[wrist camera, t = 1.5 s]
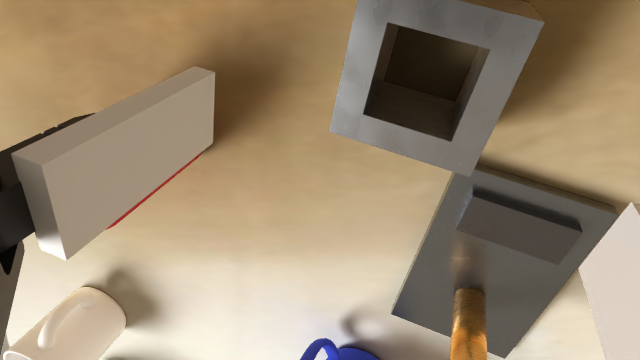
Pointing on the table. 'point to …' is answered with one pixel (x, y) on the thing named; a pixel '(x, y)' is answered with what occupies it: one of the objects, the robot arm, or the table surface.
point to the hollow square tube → (424, 109)
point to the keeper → (496, 259)
